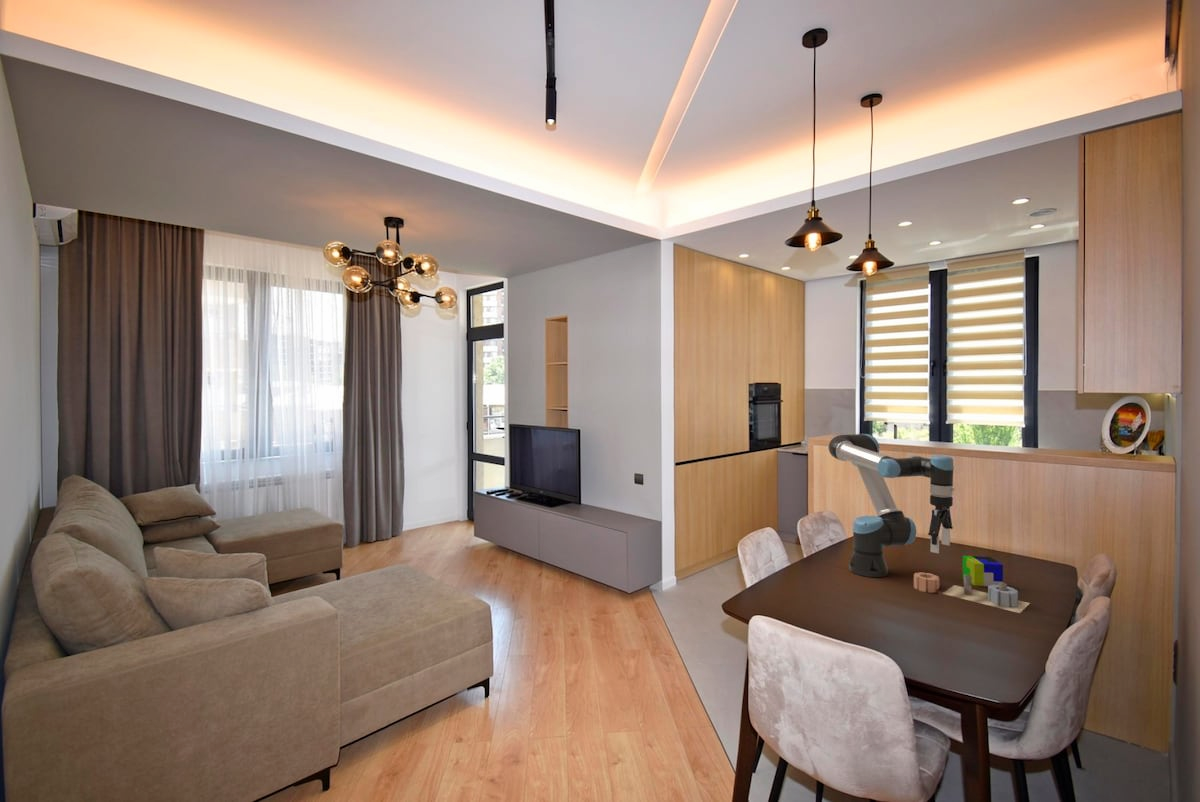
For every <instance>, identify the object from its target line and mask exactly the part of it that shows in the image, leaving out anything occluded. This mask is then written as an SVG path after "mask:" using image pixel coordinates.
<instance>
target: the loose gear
mask: <svg viewBox="0 0 1200 802" xmlns="http://www.w3.org/2000/svg"><path fill="white" fill-rule="evenodd" d="M913 589H915V590H918V591H919V592H922V593H923V592H925V593H926V592H927V593H931V594H932V593H933V594H934V593H938V592H939V591H938V590H939V589H940V576H938V575H935V574H934V573H929V572H915V573H914V574H913Z"/></svg>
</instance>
